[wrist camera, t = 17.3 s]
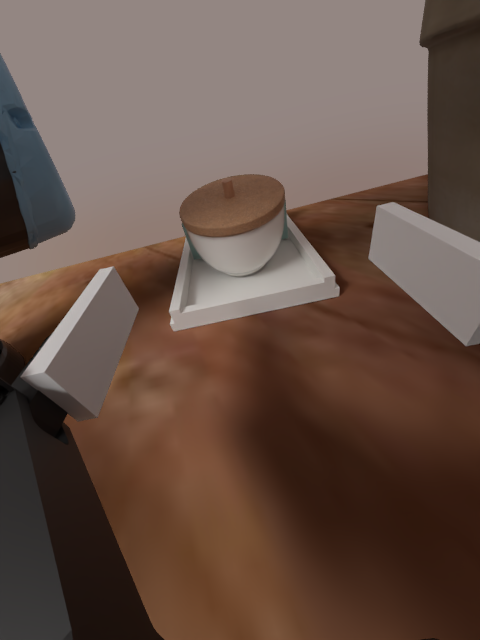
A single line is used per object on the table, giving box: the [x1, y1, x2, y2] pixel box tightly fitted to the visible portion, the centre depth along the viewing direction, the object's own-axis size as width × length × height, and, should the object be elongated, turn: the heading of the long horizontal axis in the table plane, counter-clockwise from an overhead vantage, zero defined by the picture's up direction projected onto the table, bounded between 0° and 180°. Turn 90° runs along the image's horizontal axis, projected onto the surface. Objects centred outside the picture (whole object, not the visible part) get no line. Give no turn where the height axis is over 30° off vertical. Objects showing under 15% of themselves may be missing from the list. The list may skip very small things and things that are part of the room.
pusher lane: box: [169, 214, 340, 331], centre depth 31 cm, size 22×17×7 cm
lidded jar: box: [179, 174, 285, 277], centre depth 27 cm, size 11×11×9 cm
